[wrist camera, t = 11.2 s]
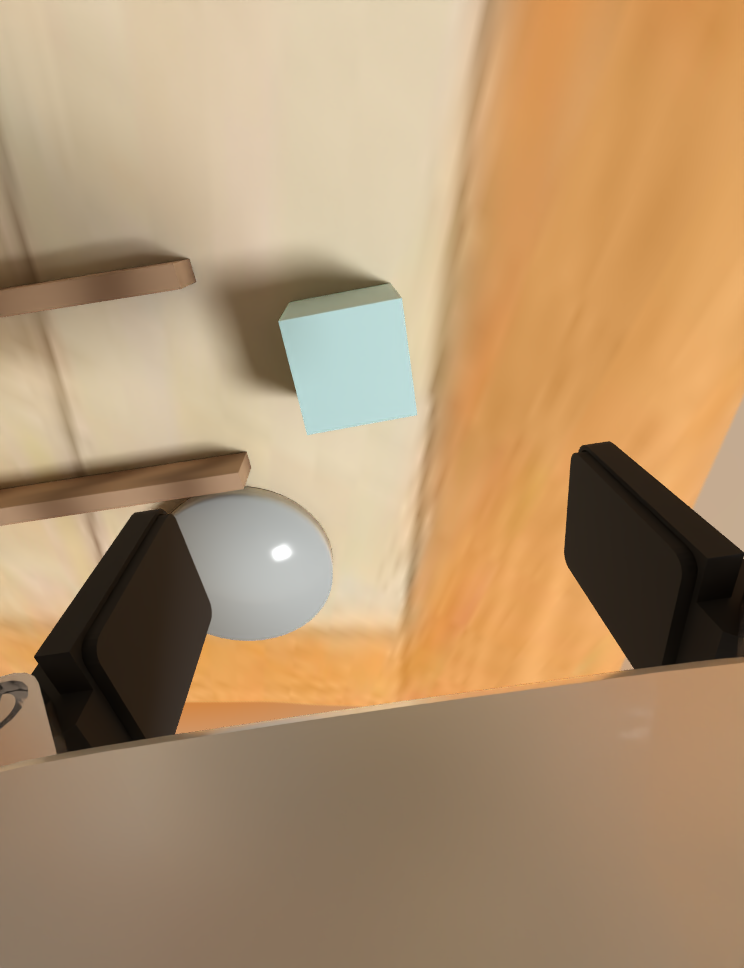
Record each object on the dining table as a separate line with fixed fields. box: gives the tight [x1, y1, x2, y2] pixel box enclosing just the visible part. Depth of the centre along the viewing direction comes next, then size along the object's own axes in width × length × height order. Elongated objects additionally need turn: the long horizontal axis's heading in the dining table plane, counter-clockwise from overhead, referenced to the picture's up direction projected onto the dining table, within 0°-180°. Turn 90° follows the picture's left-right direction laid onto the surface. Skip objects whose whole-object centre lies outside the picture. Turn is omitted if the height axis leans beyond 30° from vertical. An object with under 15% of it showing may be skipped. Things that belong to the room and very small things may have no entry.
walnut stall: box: [0, 259, 251, 526], centre depth 24 cm, size 19×11×2 cm, turn 98°
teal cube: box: [278, 283, 417, 435], centre depth 23 cm, size 5×5×5 cm
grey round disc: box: [171, 487, 333, 641], centre depth 30 cm, size 11×11×2 cm
